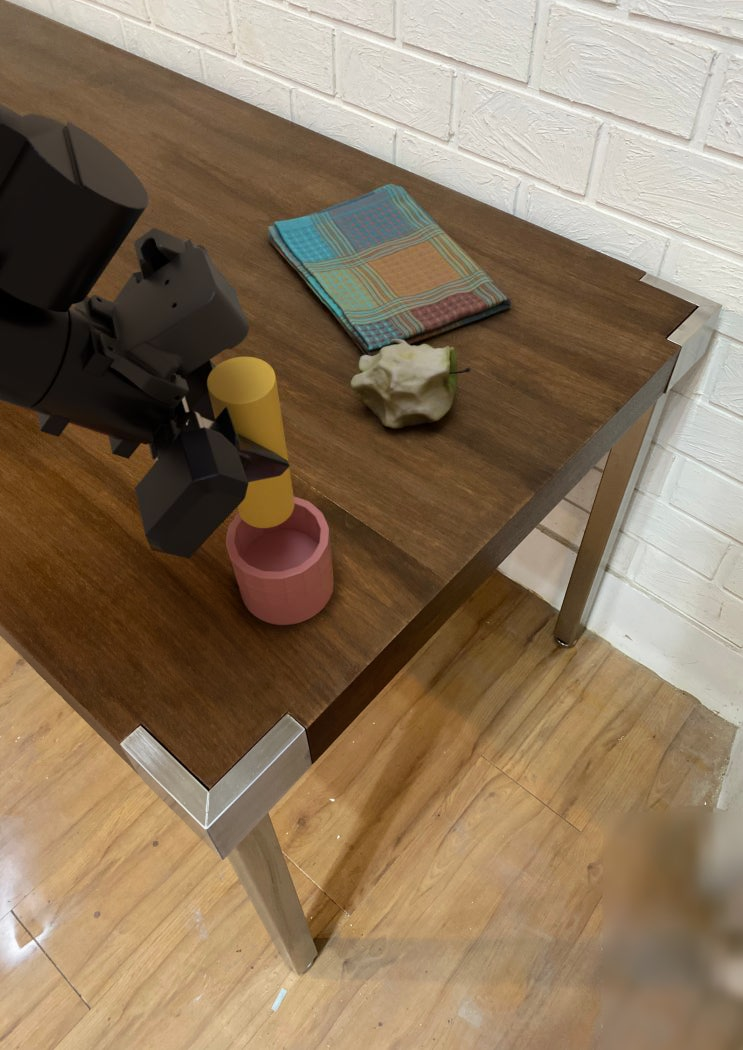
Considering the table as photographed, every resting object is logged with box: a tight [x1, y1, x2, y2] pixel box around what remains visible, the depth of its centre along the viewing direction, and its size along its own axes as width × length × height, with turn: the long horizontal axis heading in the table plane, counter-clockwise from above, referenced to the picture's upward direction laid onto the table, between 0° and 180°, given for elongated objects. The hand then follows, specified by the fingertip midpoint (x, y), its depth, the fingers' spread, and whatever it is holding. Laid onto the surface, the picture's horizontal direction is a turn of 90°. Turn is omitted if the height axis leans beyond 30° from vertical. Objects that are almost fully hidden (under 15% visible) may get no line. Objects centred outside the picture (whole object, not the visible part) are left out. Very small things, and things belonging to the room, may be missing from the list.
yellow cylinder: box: [207, 356, 295, 528], centre depth 50 cm, size 4×4×12 cm
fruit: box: [350, 339, 472, 430], centre depth 69 cm, size 9×9×8 cm
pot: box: [225, 495, 335, 626], centre depth 57 cm, size 7×7×6 cm
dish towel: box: [266, 183, 512, 356], centre depth 82 cm, size 17×23×2 cm
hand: (275, 445), depth 51 cm, fingers closed on yellow cylinder, 4 cm apart
